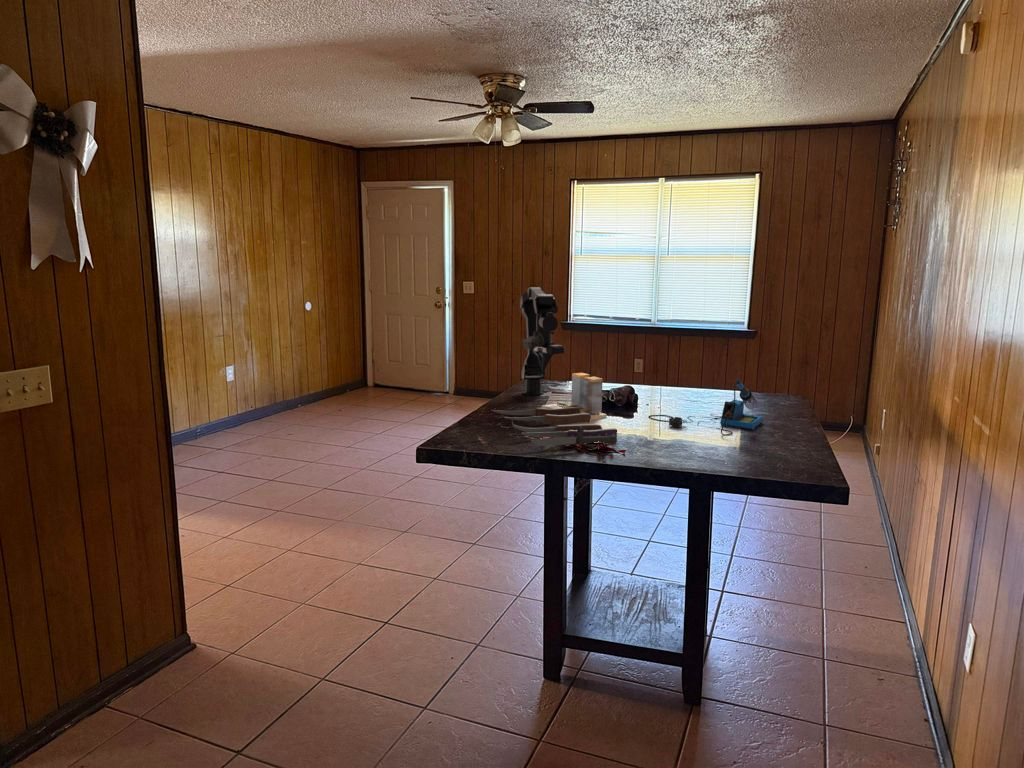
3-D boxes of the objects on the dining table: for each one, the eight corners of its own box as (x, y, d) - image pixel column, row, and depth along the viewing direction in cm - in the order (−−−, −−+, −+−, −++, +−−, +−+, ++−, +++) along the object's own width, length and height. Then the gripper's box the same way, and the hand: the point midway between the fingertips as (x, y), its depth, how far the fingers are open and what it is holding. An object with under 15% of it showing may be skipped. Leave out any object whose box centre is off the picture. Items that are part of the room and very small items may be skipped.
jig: (541, 408, 257) (542, 371, 254) (564, 405, 263) (565, 369, 260) (582, 421, 238) (583, 381, 236) (606, 417, 244) (607, 378, 242)
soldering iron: (636, 423, 238) (639, 370, 234) (670, 406, 263) (674, 358, 260) (739, 440, 219) (744, 383, 215) (766, 421, 244) (771, 369, 240)
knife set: (488, 423, 230) (489, 400, 229) (579, 420, 241) (581, 399, 240) (524, 455, 198) (526, 429, 196) (627, 451, 209) (630, 426, 207)
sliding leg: (559, 409, 248) (560, 375, 245) (580, 406, 253) (581, 372, 251) (567, 412, 244) (568, 377, 242) (588, 408, 250) (589, 374, 247)
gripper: (511, 327, 262) (511, 368, 265) (541, 332, 247) (541, 375, 250) (535, 325, 269) (534, 365, 272) (566, 330, 254) (565, 372, 257)
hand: (543, 369), depth 262 cm, fingers closed
